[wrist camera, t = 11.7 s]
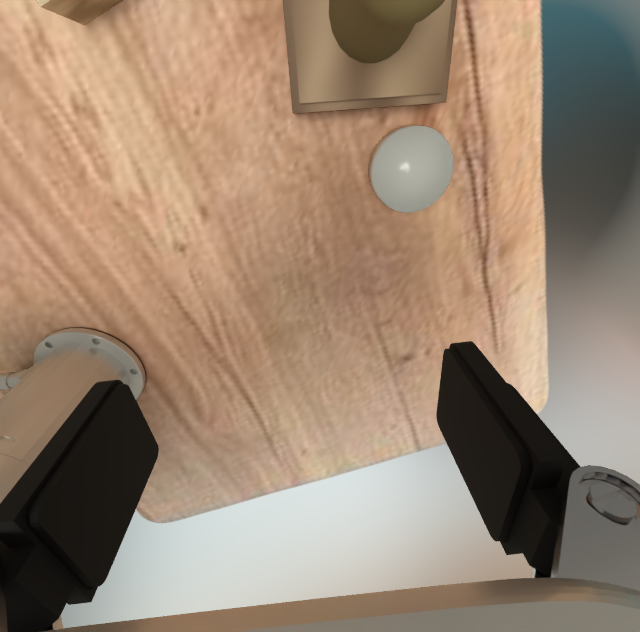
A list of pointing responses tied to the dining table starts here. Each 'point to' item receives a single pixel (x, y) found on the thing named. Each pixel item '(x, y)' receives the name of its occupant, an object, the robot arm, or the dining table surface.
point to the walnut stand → (365, 78)
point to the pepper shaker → (376, 25)
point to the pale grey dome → (410, 168)
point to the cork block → (78, 8)
